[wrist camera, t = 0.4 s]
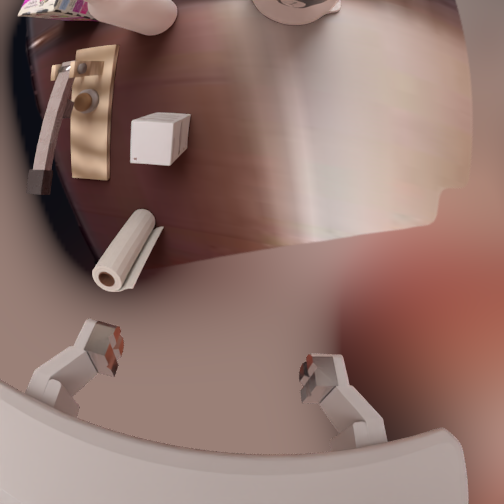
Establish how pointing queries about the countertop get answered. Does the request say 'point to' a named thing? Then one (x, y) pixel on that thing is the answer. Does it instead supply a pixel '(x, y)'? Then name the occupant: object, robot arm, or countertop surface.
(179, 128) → the supplement box
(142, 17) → the alcohol
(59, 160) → the countertop surface
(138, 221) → the paper towel roll
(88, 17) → the candy bar box
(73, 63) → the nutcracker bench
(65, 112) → the lever
